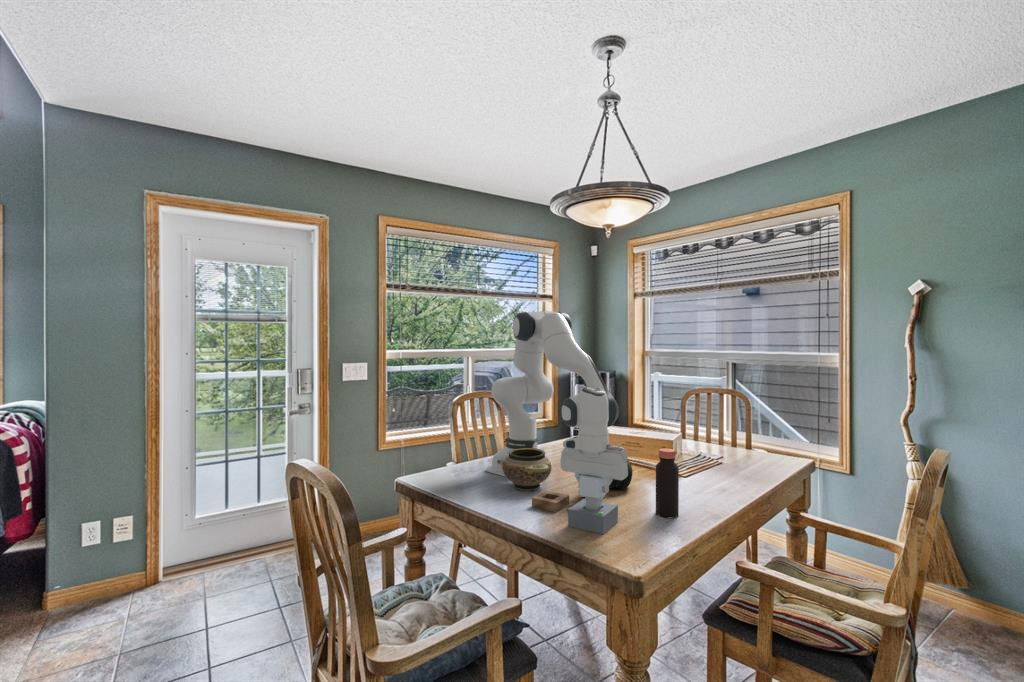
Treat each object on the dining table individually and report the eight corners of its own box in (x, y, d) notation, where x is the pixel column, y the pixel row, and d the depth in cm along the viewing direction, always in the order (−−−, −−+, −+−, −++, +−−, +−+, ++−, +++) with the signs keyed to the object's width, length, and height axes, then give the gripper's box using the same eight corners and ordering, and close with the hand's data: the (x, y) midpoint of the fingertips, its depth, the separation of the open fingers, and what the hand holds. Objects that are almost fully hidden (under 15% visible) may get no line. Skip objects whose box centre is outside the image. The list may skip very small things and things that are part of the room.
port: (568, 526, 143) (568, 507, 143) (583, 514, 152) (584, 497, 152) (603, 534, 137) (603, 515, 137) (617, 521, 146) (617, 503, 146)
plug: (579, 510, 144) (579, 476, 144) (588, 504, 149) (588, 471, 149) (599, 514, 140) (598, 479, 140) (607, 508, 145) (606, 474, 145)
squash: (629, 481, 169) (630, 443, 178) (586, 479, 174) (589, 441, 183) (633, 499, 179) (634, 461, 188) (592, 496, 184) (595, 460, 193)
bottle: (660, 508, 158) (661, 446, 157) (681, 513, 153) (682, 449, 153) (652, 514, 152) (652, 450, 152) (673, 519, 148) (673, 453, 148)
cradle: (531, 507, 159) (531, 497, 159) (545, 499, 167) (545, 490, 167) (556, 512, 154) (556, 502, 154) (569, 504, 162) (569, 495, 162)
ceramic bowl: (498, 486, 189) (488, 450, 188) (537, 470, 196) (529, 435, 194) (524, 507, 167) (514, 466, 165) (568, 488, 174) (559, 448, 172)
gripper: (631, 445, 142) (631, 493, 142) (567, 437, 153) (567, 482, 153) (623, 449, 136) (623, 499, 136) (558, 441, 147) (558, 487, 147)
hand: (593, 490), depth 145 cm, fingers closed on plug, 6 cm apart
